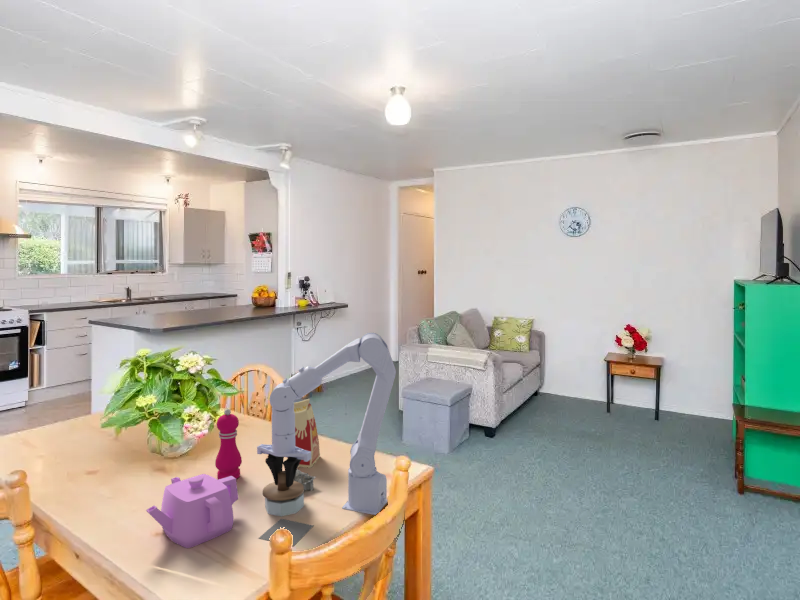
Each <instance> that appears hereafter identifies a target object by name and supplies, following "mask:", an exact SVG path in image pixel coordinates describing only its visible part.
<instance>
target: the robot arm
mask: <svg viewBox="0 0 800 600" xmlns="http://www.w3.org/2000/svg"><path fill="white" fill-rule="evenodd" d="M392 358H393V357H392V356H391V353H390V350H389V346H388V345H387V342H386V341H385V340H384V339H383V337H382V336H381V335H379V334H378V333H377V332H371V331H370V332H367V333H365V334H363V335H362V337H361V338H360V337H358V338H355V339H353V340H352V341H351V342H349V343H347V344H346V345H344V346H343V347H342V348H340V349H338V350H337V351H336V352H334V353H333V354H332V355H330V356H328V357H327V358H326V359H325V360H323V361H322V362H321V363H319V364H318V365H316V366H311V365H307V366H306V367H304V366H301V367H300V368H298V370H297V371H298V372H297V373H295V374H294V375H292V376H291V377H289V378H288V379H287V378H284V379H283V380H282V382H281V383H278V384H276V386H274V389H273V390H272V391H271V393H270V395H269V404H270V406H271V444H266V443H265V444H263V443H261V444H259V445H258V446H256V450H257V451H256V452H257V453H256V454H257V455H263V454H264V455H268V456H267V457H266V458H265V461H264V462H265V464H266V465H267V466H268V468H269V471H270V472H271V476H272V478H273V482H275V485H278V472H280V471H283V468H284V471H285V473H286V486H287V487H290V486H291V485H293V482H294V477H295V474H296V471H297V469H298V468H299V467H298V466H299V464H300V462H301V460H304V461H305V462H308V461H309V460H310V459H311V451H306V450H304V449H301V448H298V447H296V446H295V412H294V403H295V401H296V400H301V399H302V398H303V397H304V396H306V395H308V394H309V393H311V392H312V391H314V390H316V388H318V387H320V386H321V385H322V382H323V381H322V380H323V378H325V377H327V375H329V374H331V373H332V372H333V371H335V370H338V369H339V368H340V367H342V366H344V365H345V364H347V363H349V362H350V363H351V362H352V363H360V362H361V359H362V360H363V362H365V363H366V364H368V365H369V366H371V369H372V370H373V371H374V373H375V379H374V382H373V385H372V390H371V393H370V397H369V400H368V403H367V406H366V411H365V414H364V417H363V420H362V424H361V428H360V430H359V432H358V435H357V439H356V440H355V442H354V443H353V444H351V447H350V451H349V452H350V461H349V468H348V470H347V476H348V477H347V478H348V479H347V483H348V487H347V488H348V489H347V490H348V491H347V493H348V495H347V497H348V499H347V501H346V503H344V504H343V506H342V507H341V508H342V510H347V511H351V512H352V511H354V512H358V513H363V514H368V515H372V516H374V515H375V516H377V515H378V514H379V513H380V512H381V510H382V509H383V508H384V506H385V505H386V504H387V503H388V498H387V497H388V496H387V493H388V491H387V475H386V474H384V473H381V472H380V471H378V470H377V466H376V460H375V454H376V450H377V446H378V445H377V443H378V439H379V435H380V431H381V427H382V424H383V420H384V417H385V414H386V410H387V407H388V404H389V399H390V396H391V392H392V389H393V385H394V383H395V378H396V374H397V370H396V366H395V364H394V362H393V359H392ZM287 457H288V459H287ZM285 458H286V459H285ZM284 459H285V460H284ZM377 513H378V514H377ZM376 514H377V515H376Z"/></svg>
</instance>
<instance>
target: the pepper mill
mask: <svg viewBox="0 0 800 600" xmlns="http://www.w3.org/2000/svg"><path fill="white" fill-rule="evenodd" d="M223 412H224V414H222V415H220V416H219V417H218V418H217V421H216V428H217V429H218V438H219V439H220V445H219V449H218V452H217V454H216V457H215V465H214V466H215V468H216V469H217V472H216V474H217V475H216V476H217V478H216V479H217V480H219V479H222V478H226V477H229V476H233V477H234V478H236V480H237V479H239V478H240V476H241V468H240V466H241V465H242V463H243V462H242V461H243V460H242V459H243V458H242V456H241V453H240V450H239V448H238V446H237V442H236V440H237V439H236V437H237V435H238V430H237V429H238V427H239V425H240V422H239V418H238V416H237V415H236V414H233V413H231V412H232V411H231V409H229V408H226V409H224V411H223Z"/></svg>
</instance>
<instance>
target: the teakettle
mask: <svg viewBox="0 0 800 600" xmlns="http://www.w3.org/2000/svg"><path fill="white" fill-rule="evenodd" d="M170 480H171V484H167V485H166V486H165V487H164V489H163V490H164V492H163V496H162V500H161V508H160V509H159V508H158V507H157V506H156V505H155V504H154V505H152V506H151V507H149V508H147V509H146V510H145V511H146V512H147V513H148V514H149V515H150V516H151V517H152V518H153V519H154V520H155V521H156V522H157V523H158V524H159V525H160V526H161V528H162V530H163V532H164V534H165V536H166V537H168V538H169V539H170V540H171V542H173V543H174V544H176V545H179V546H180V547H183V548H185V549H191V548H193V547H196V546H198V545H200V544H201V545H202V544H203V543H206V542H208V541H210V540H213V539H215V538H217V537H219V536H221V535H224V534H226V533H228V532H230V531H232V529H233V525H234V510H233V504H235V502H236V501H237V500H239V492H238V483H237V479H236V478H234V477H233V476H229V477H226V478H222V479H219V480H218V478H215V477H214V476H211V475H209V474H206V473H202V474H198V475H195V476H192V477H188V478H186V479H182V480H181V479H180V477H178V476H176V477H172V478H171V479H170Z"/></svg>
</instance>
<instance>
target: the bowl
mask: <svg viewBox="0 0 800 600" xmlns="http://www.w3.org/2000/svg"><path fill="white" fill-rule="evenodd" d="M304 506H305V494H304V493H302V494H301V495H300V496H298V497H296V498H293V499H290V500H283V501H276V500H270V499H267V498H265V497H264V507H265V510H266V512H267V514H268V515H272V516H277V517H284V516H288V515H293V514H295V515H296V514H297V513H298V512H299V511H300V510H301V509H303V508H304Z"/></svg>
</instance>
